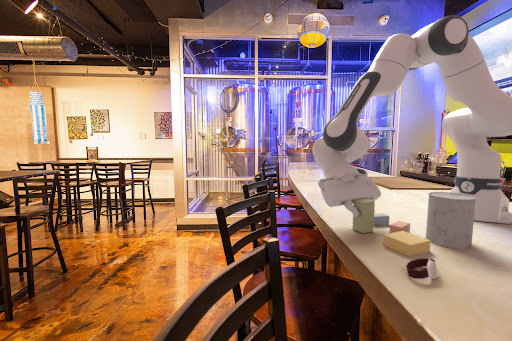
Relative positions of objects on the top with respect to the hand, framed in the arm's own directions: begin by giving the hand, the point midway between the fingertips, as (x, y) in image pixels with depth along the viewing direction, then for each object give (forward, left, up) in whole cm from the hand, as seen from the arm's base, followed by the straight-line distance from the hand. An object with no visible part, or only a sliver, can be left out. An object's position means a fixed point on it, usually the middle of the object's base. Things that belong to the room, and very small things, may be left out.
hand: (365, 214), depth 69 cm
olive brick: (0, -1, -5) cm, 5 cm away
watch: (+9, +21, -6) cm, 24 cm away
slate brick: (-10, -4, -5) cm, 12 cm away
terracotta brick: (-8, +5, -5) cm, 11 cm away
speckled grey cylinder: (-14, +14, -5) cm, 21 cm away
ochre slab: (0, +12, -5) cm, 13 cm away
